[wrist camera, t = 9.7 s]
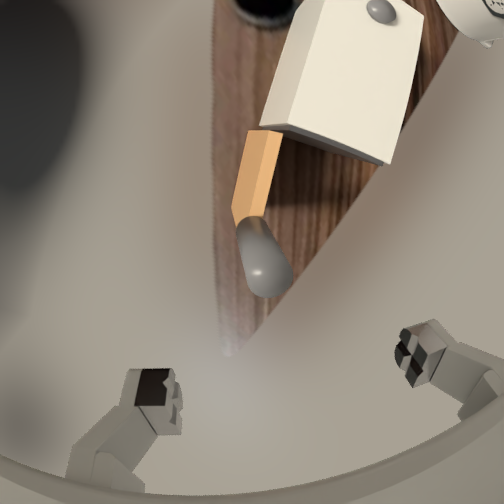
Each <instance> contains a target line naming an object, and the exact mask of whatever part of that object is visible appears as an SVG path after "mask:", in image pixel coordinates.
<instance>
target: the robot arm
mask: <svg viewBox="0 0 504 504" xmlns="http://www.w3.org/2000/svg"><path fill="white" fill-rule="evenodd" d="M436 1H437V2H438V4H439V6H440V7H441V9H442V11H443V12H444V13H445V15H446V16H447V18H448V19H449V20H450V21H451V22H452V24H453V25H454V26H455V27H456V28H457V29H458V30H459V31H460V32H461V33H463V34H464V35H465V36H467V37H469V38H471V39H473V40H476V41H478V42H479V43H481V44H482V45H483V46H484V47H486V48H491V47H492V44H493V41H494V40H498V39H504V0H436ZM399 337H400V339H401V341H400V342H399V343H398V344H397V345H396V348H395V352H394V353H395V360H396V363H397V365H398V366H399V368H400V369H402V370H404V371H405V377H406V379H407V380H408V382H409V383H410V385H411V387H412V388H415V387H417V386H420V385H422V384H425V383H427V382H430V383H431V384H432V385H434V386H436V387H438V388H439V389H440V390H442V391H444V392H445V393H447V394H449V395H450V396H452V397H453V398H455V399H457V400H458V401H460V402H461V403H463V405H462V407H461V408H460V410H459V411H458V417H459V418H460V420H461V422H460V423H458V424H456V425H455V426H453V427H451V428H449V429H448V430H446V431H444V432H442V433H440V434H439V435H437V436H435V437H433V438H431V439H429V440H427V441H425V442H423V443H421V444H419V445H417V446H415V447H413V448H411V449H408V450H406V451H404V452H402V453H399V454H397V455H394V456H392V457H390V458H387V459H385V460H382V461H379V462H377V463H375V464H371V465H368V466H366V467H363V468H360V469H357V470H354V471H351V472H347V473H345V474H341V475H338V476H334V477H330V478H326V479H322V480H318V481H315V482H310V483H306V484H301V485H296V486H291V487H285V488H280V489H273V490H267V491H259V492H251V493H241V494H228V495H205V496H204V495H203V496H185V495H183V496H182V495H162V494H149V493H145V484H144V483H143V481H142V480H141V479H139V478H138V477H137V476H136V475H135V474H133V473H132V471H133V470H134V469H135V467H136V466H137V465H138V463H139V462H140V461H141V459H142V458H143V456H144V455H145V454H146V452H147V451H148V449H149V448H150V447H151V445H152V444H153V443H154V441H155V440H156V438H157V435H181V429H182V418H181V416H180V414H179V412H180V411H181V409H182V407H183V401H182V392H181V388H180V385H179V383H177V382H175V373H174V371H173V369H172V368H155V369H154V368H153V369H129V370H128V372H127V374H126V378H125V382H124V386H123V389H122V394H121V398H120V402H119V406H114V407H113V408H112V409H111V410H110V411H109V412H108V413H107V414H106V415H105V416H103V417H102V419H100V420H99V421H98V422H97V423H96V424H95V425H94V426H93V427H92V428H91V429H90V430H89V431H88V432H87V433H86V434H84V436H82V437H81V438H80V439H79V440H78V441H77V442H76V443H75V444H74V445H73V446H72V449H71V453H70V457H69V461H68V466H67V470H66V475H65V478H63V477H59V476H56V475H52V474H49V473H46V472H43V471H40V470H37V469H35V468H32V467H29V466H27V465H24V464H21V463H19V462H17V461H14V460H12V459H9V458H7V457H5V456H3V455H0V504H504V359H502V358H499V357H497V356H494V355H492V354H489V353H487V352H484V351H482V350H479V349H477V348H474V347H472V346H469V345H467V344H464V343H462V342H459V343H457V341H456V340H455V339H454V338H453V337H452V336H451V335H450V334H449V333H448V332H447V330H446V329H445V328H444V327H443V326H442V325H441V324H440V323H439V322H438V321H437V320H435V319H432V320H428V321H425V322H423V323H419V324H416V325H413V326H410V327H407V328H403V329H402V331H401V332H400V335H399Z"/></svg>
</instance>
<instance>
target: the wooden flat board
mask: <svg viewBox="0 0 504 504" xmlns="http://www.w3.org/2000/svg"><path fill="white" fill-rule="evenodd" d="M282 136H283V134H282V133H278V132H274V131H270V130H253V131H248V134H247V138H246V143H245V147H244V151H243V156H242V160H241V165H240V169H239V174H238V178H237V183H236V187H235V192H234V196H233V201H232V206H231V208H232V212H233V216H234V220H235V224H236V237H237V241H238V245H239V249H240V253H241V258H242V262H243V266H244V270H245V274H246V279H247V283H248V286H249V288H250V290H251V291H252V292H253V293H254V294H256V295H257V296H260V297H264V298H272V297H276V296H279V295H281V294H282V293H284V292H285V291H286V290H287V289H288V288H289V286H290V285H291V283H292V280H293V270H292V268H291V266H290V264H289V262H288V261H287V259H286V257H285V255H284V253H283V252H282V250H281V248H280V246H279V245H278V243H277V241H276V239H275V238H274V236H273V234H272V232H271V231H270V229H269V227H268V225H267V224H266V222H265V221H264V220H263V219H262V217H263V213H264V209H265V205H266V201H267V197H268V193H269V189H270V185H271V181H272V177H273V173H274V169H275V165H276V160H277V156H278V152H279V148H280V144H281V140H282Z"/></svg>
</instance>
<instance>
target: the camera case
mask: <svg viewBox="0 0 504 504" xmlns="http://www.w3.org/2000/svg"><path fill="white" fill-rule="evenodd" d="M423 19H424V16H423V15H422V14H420V13H419V12H418V11H416V10H415V9H413V8H412V7H410V6H409V5H407V4H406V3H404V2H403V1H401V0H304V2H303V3H302V4H301V5H300V6H299V8H298V9H297V10H296V12H295V15H294V18H293V21H292V24H291V27H290V30H289V33H288V36H287V39H286V42H285V45H284V48H283V51H282V54H281V57H280V60H279V63H278V66H277V70H276V73H275V76H274V79H273V82H272V85H271V88H270V92H269V95H268V98H267V101H266V105H265V108H264V111H263V114H262V118H261V121H260V124H259V126H262V127H263V129H262V130H270V131H274V132H278V133H282V134H283V137H286V138H289V139H293V140H296V141H299V142H302V143H304V144H307V145H310V146H313V147H316V148H319V149H322V150H324V151H327V152H330V153H334V154H338V155H342V156H346V157H350V158H354V159H358V160H361V161H365V162H369V163H372V164H376V165H379V166H383V163H387V164H390V162H391V160H392V156H393V153H394V150H395V147H396V143H397V140H398V136H399V133H400V129H401V126H402V122H403V118H404V115H405V111H406V107H407V103H408V99H409V95H410V90H411V86H412V81H413V77H414V72H415V67H416V62H417V57H418V51H419V46H420V40H421V33H422V27H423Z"/></svg>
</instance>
